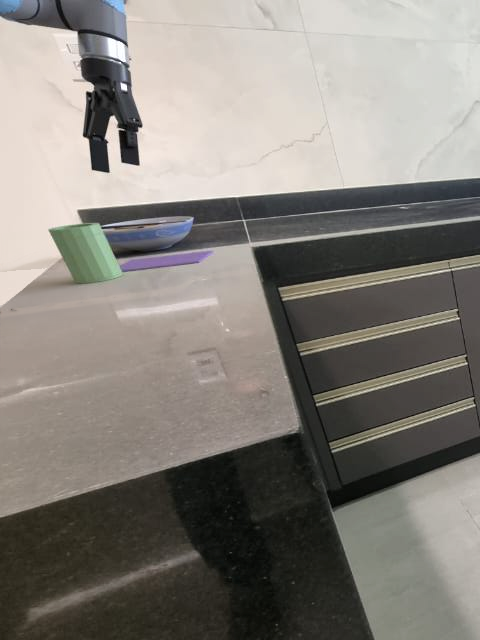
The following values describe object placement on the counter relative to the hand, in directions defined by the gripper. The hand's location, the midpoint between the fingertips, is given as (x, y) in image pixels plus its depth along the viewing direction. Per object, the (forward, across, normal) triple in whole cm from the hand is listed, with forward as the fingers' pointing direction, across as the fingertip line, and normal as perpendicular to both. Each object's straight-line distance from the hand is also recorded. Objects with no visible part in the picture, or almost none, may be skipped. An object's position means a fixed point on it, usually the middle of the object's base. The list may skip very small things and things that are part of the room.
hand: (115, 168), depth 113 cm
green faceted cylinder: (+23, +15, -1) cm, 28 cm away
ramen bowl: (+13, +42, -23) cm, 50 cm away
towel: (+18, +18, -15) cm, 30 cm away
